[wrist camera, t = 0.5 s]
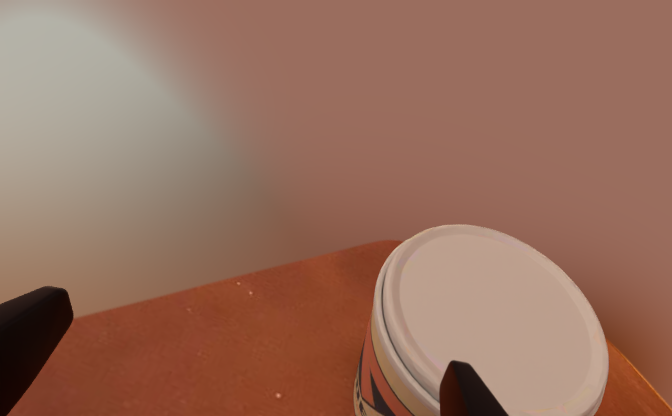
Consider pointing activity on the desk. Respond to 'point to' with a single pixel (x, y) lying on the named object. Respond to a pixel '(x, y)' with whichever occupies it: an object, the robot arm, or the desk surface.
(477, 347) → the coffee cup
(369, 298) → the desk surface
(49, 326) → the robot arm
